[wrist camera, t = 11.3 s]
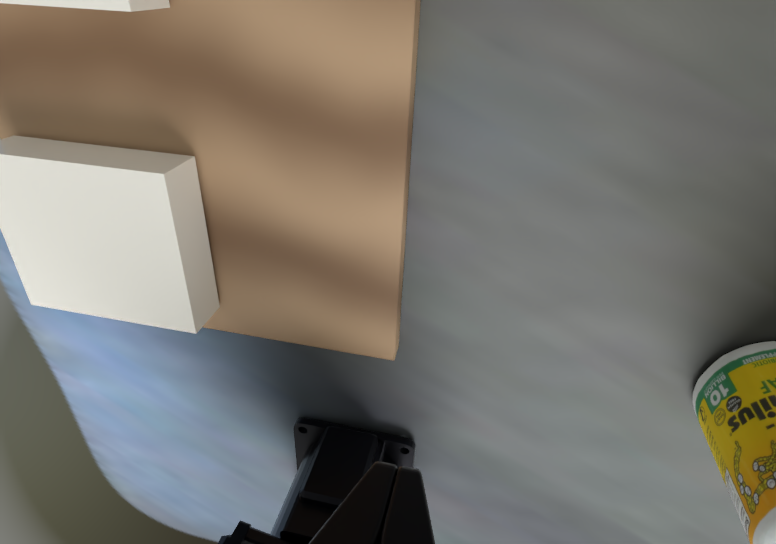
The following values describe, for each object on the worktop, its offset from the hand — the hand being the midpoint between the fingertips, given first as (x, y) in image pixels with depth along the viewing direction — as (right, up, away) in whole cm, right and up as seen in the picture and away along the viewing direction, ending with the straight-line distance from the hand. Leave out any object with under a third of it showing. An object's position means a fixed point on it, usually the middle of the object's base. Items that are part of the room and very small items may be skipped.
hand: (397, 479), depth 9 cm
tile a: (-8, +5, +11) cm, 14 cm away
